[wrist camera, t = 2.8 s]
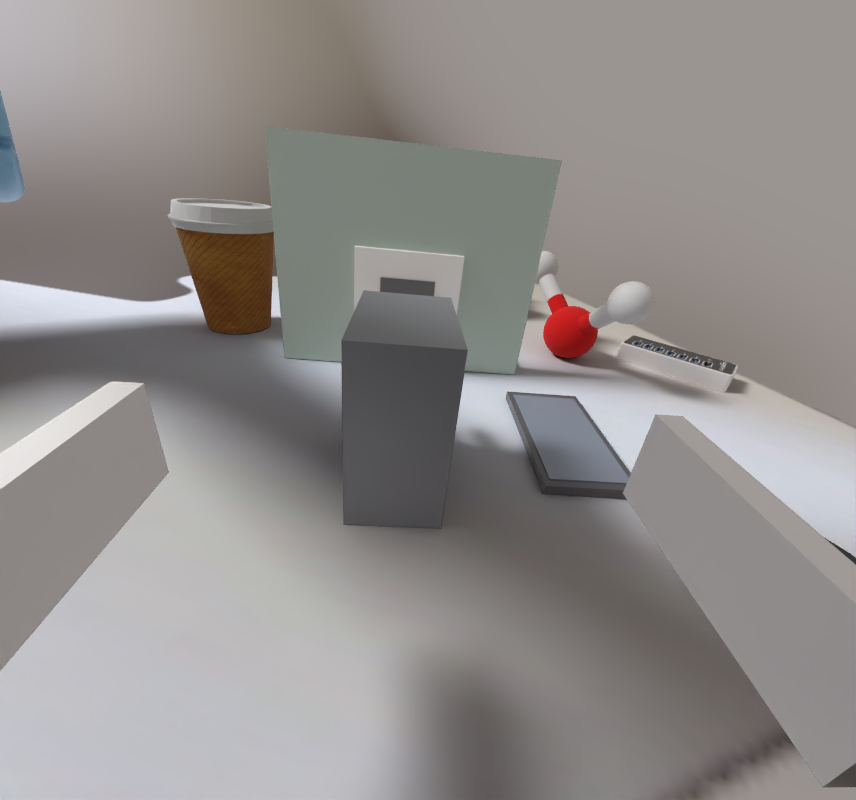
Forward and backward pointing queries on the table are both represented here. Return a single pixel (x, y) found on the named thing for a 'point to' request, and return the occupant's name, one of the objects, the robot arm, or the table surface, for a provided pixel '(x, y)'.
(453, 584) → the table surface
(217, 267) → the disposable coffee cup
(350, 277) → the board
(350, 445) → the plug
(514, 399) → the phone slab
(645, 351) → the multiport hub
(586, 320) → the molecular model
